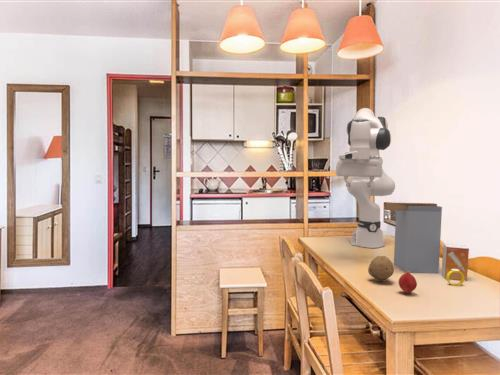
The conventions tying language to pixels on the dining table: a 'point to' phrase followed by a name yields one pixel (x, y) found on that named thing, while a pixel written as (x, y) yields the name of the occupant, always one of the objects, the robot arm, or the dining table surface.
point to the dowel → (404, 205)
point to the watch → (452, 272)
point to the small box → (455, 261)
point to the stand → (418, 239)
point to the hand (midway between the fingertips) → (358, 186)
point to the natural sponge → (381, 268)
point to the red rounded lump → (407, 282)
